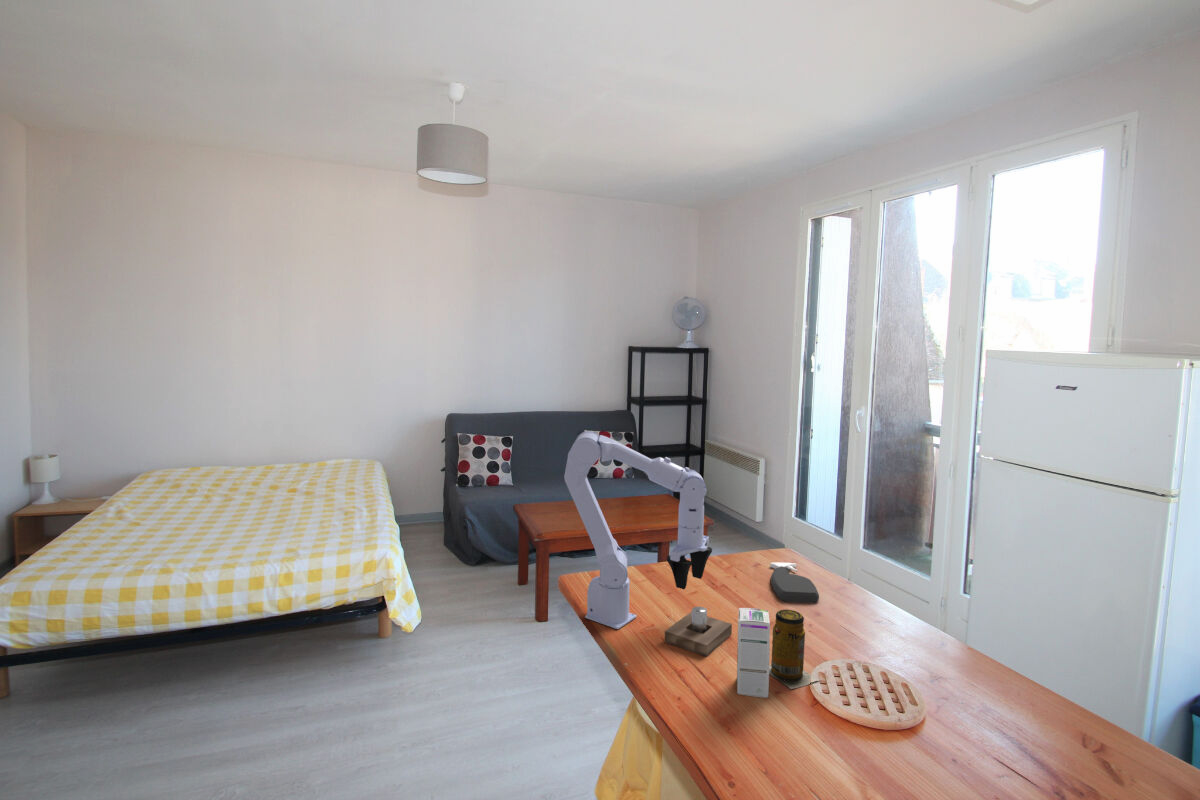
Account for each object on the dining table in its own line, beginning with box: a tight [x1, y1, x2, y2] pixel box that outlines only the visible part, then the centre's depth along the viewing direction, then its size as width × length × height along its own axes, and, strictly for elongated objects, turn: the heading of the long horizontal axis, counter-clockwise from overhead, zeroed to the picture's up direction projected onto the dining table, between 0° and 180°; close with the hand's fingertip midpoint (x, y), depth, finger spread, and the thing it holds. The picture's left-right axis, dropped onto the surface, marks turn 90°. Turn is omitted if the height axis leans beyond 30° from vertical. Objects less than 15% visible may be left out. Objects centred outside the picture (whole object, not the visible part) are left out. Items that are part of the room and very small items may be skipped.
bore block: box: [664, 611, 733, 658], centre depth 135 cm, size 10×12×2 cm
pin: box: [691, 606, 708, 634], centre depth 135 cm, size 3×3×6 cm
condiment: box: [769, 609, 812, 690], centre depth 121 cm, size 7×8×12 cm
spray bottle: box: [769, 561, 820, 604], centre depth 166 cm, size 3×11×24 cm
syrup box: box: [736, 607, 771, 699], centre depth 116 cm, size 6×6×14 cm
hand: (689, 582), depth 142 cm, fingers open, 7 cm apart
